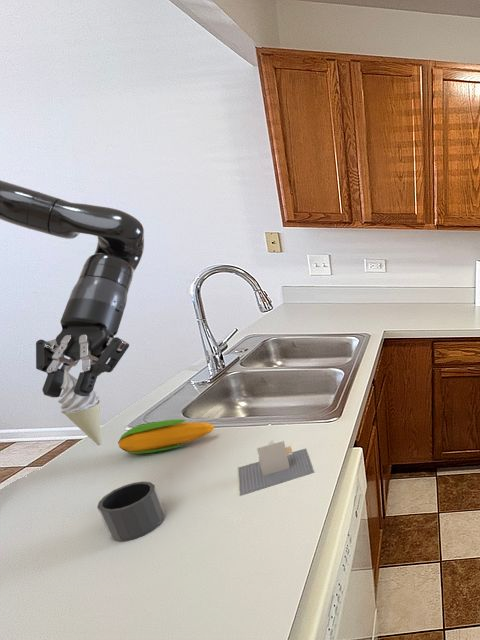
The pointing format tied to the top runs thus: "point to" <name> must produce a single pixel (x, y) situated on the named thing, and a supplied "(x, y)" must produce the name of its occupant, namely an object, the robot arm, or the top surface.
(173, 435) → the corn
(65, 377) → the ice cream cone
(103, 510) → the cone holder
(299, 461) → the architectural model
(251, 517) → the top surface
